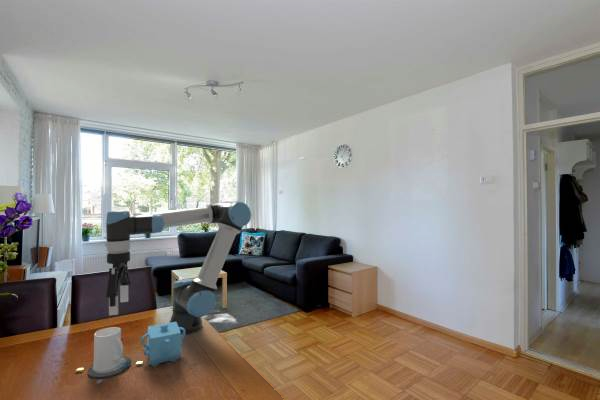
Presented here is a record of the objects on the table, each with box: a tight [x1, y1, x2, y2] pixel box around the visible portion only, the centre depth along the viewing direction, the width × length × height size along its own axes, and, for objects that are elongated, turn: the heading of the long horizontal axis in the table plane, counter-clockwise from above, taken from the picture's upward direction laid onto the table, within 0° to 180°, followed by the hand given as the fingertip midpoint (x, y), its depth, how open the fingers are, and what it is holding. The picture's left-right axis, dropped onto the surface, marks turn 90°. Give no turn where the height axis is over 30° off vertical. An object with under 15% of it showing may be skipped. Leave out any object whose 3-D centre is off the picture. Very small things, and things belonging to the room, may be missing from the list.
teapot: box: [140, 322, 186, 367], centre depth 111 cm, size 18×16×13 cm
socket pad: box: [75, 355, 144, 386], centre depth 104 cm, size 21×17×1 cm
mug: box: [92, 326, 124, 372], centre depth 105 cm, size 12×8×12 cm
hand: (119, 308), depth 111 cm, fingers open, 13 cm apart
